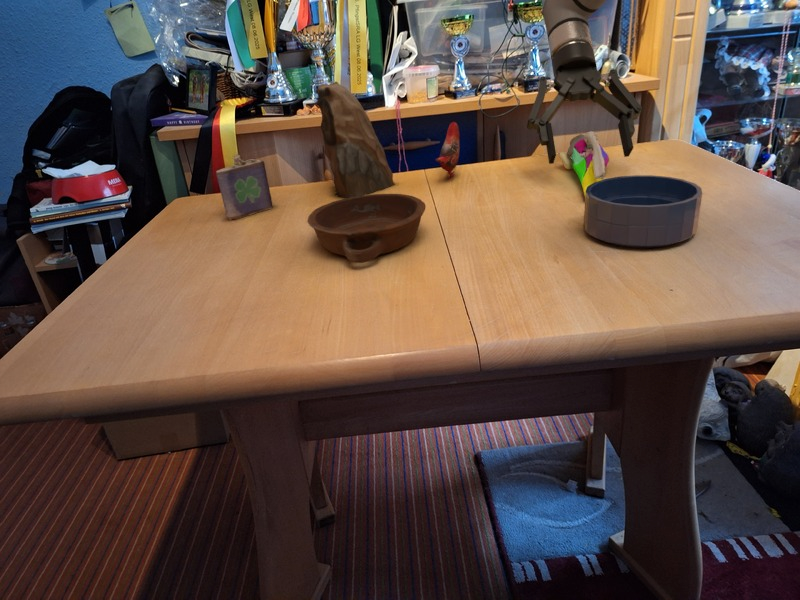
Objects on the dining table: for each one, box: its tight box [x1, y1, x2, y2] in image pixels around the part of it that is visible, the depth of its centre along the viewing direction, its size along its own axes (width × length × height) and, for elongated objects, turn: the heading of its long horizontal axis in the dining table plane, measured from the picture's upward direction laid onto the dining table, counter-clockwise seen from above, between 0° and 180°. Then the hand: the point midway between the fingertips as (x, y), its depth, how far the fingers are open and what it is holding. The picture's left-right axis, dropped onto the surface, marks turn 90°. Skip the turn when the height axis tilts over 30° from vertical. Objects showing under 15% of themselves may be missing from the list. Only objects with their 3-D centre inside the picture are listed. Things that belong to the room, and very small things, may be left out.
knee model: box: [559, 130, 610, 197], centre depth 100 cm, size 9×8×25 cm
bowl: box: [583, 174, 703, 249], centre depth 76 cm, size 14×14×6 cm
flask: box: [215, 154, 274, 221], centre depth 102 cm, size 9×3×11 cm, turn 129°
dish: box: [307, 193, 427, 264], centre depth 84 cm, size 18×22×5 cm
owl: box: [315, 81, 395, 199], centre depth 108 cm, size 13×13×20 cm
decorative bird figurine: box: [435, 121, 460, 180], centre depth 109 cm, size 3×18×10 cm, turn 162°
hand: (590, 156), depth 97 cm, fingers open, 12 cm apart
